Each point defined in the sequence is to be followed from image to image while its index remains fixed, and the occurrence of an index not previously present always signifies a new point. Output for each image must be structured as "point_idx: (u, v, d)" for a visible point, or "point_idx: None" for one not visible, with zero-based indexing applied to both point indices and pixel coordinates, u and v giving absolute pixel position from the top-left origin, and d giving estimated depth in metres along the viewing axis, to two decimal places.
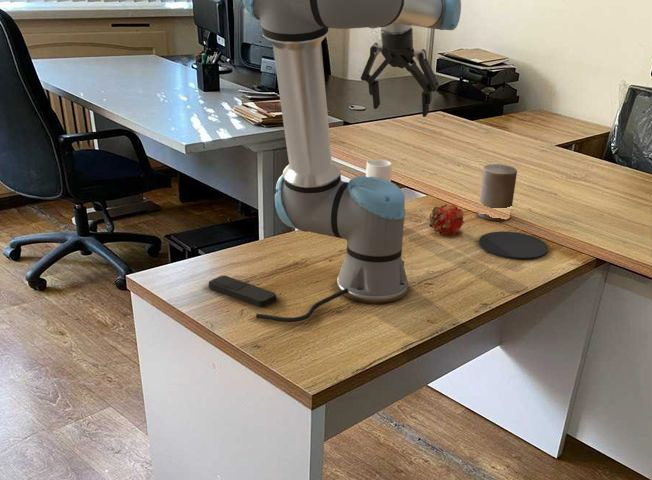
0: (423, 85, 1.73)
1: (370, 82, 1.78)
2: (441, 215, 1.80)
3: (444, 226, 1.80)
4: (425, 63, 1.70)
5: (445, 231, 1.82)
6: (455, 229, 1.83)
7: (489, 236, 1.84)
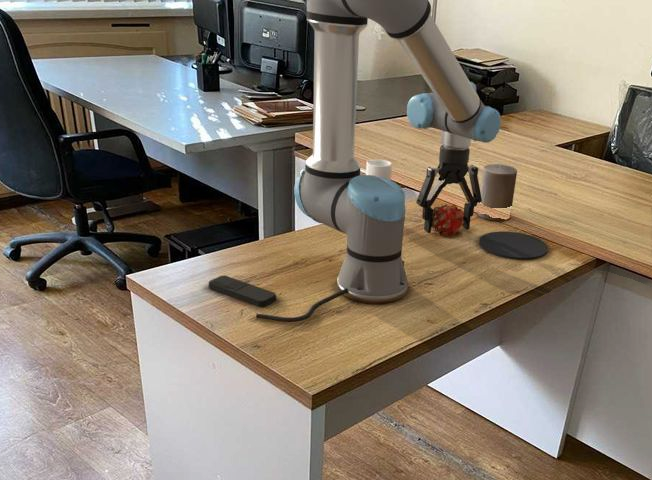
0: (472, 198, 1.83)
1: (429, 206, 1.78)
2: (441, 215, 1.80)
3: (444, 226, 1.80)
4: None
5: (445, 231, 1.82)
6: (455, 229, 1.83)
7: (489, 236, 1.84)
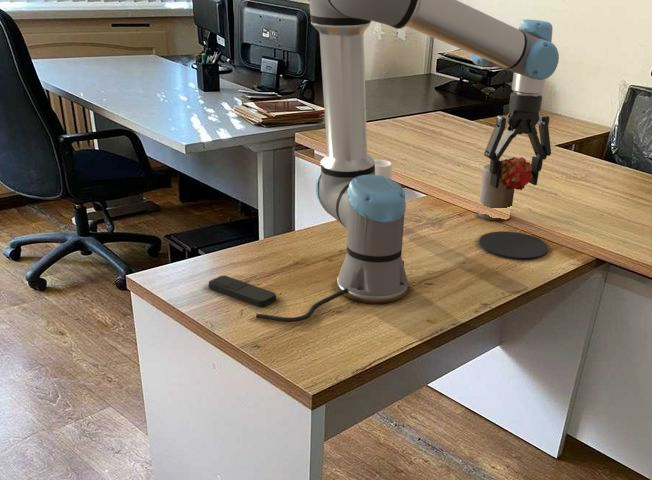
0: (541, 151, 1.72)
1: (498, 158, 1.67)
2: (510, 168, 1.68)
3: (513, 180, 1.69)
4: None
5: (513, 186, 1.71)
6: (524, 184, 1.72)
7: (489, 236, 1.84)
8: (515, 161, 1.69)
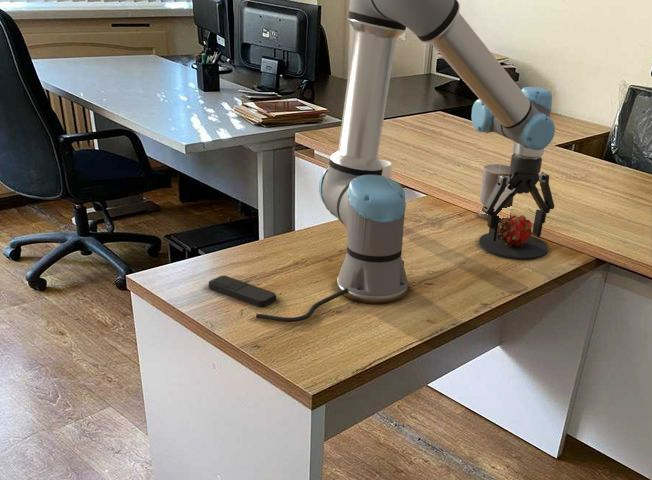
0: (544, 205, 1.78)
1: (495, 214, 1.73)
2: (511, 226, 1.75)
3: (514, 238, 1.75)
4: None
5: (514, 243, 1.78)
6: (524, 241, 1.78)
7: None
8: (515, 220, 1.76)
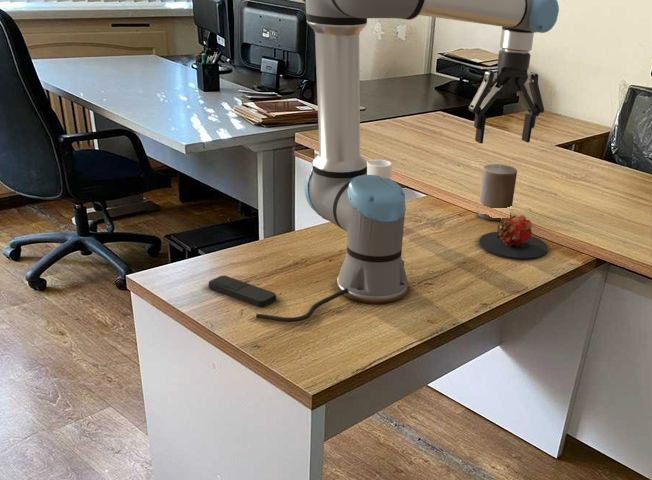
0: (533, 107, 1.73)
1: (482, 113, 1.68)
2: (511, 226, 1.75)
3: (514, 238, 1.75)
4: None
5: (514, 243, 1.78)
6: (524, 241, 1.78)
7: (489, 236, 1.84)
8: (515, 220, 1.76)
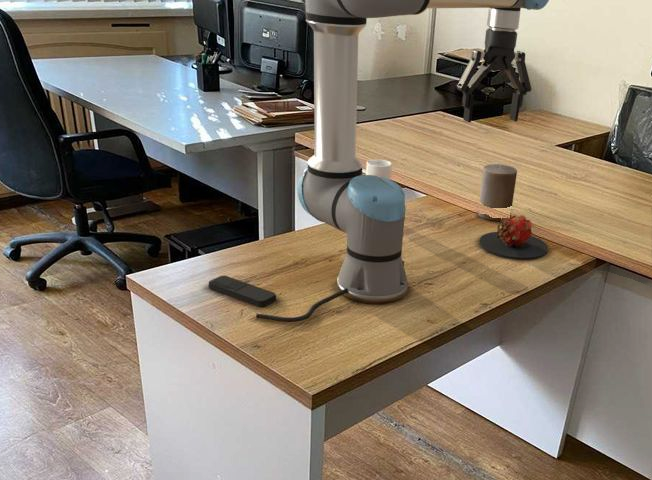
0: (520, 86, 1.74)
1: (470, 92, 1.69)
2: (511, 226, 1.75)
3: (514, 238, 1.75)
4: None
5: (514, 243, 1.78)
6: (524, 241, 1.78)
7: (489, 236, 1.84)
8: (515, 220, 1.76)
